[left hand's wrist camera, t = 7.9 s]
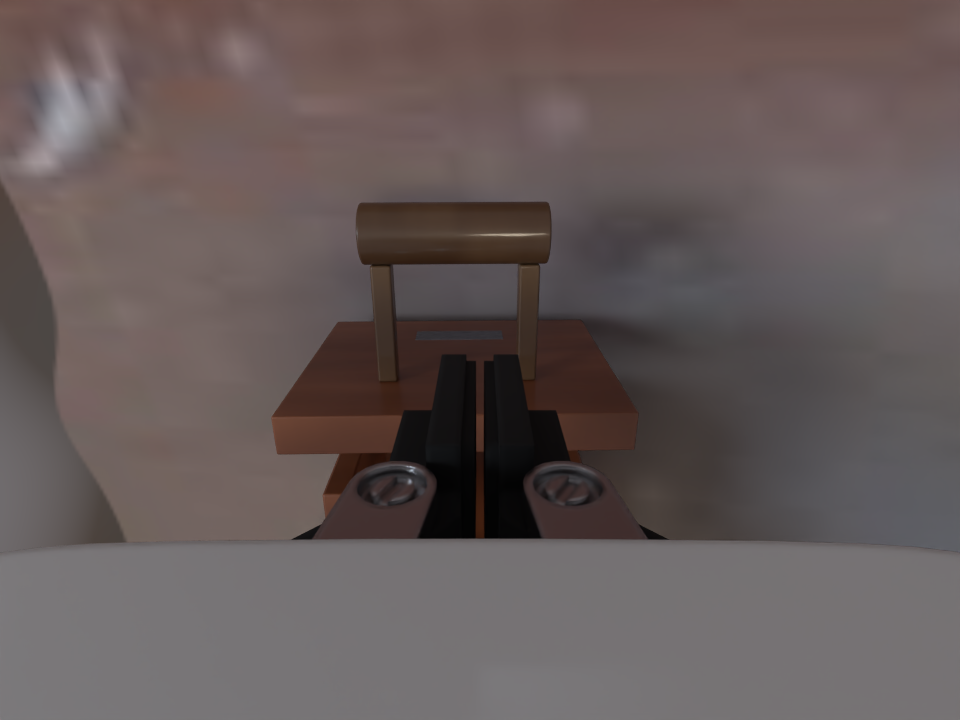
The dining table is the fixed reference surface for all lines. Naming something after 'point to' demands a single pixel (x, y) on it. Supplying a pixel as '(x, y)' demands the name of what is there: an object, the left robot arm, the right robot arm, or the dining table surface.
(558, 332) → the drawer
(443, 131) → the dining table surface
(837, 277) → the dining table surface
